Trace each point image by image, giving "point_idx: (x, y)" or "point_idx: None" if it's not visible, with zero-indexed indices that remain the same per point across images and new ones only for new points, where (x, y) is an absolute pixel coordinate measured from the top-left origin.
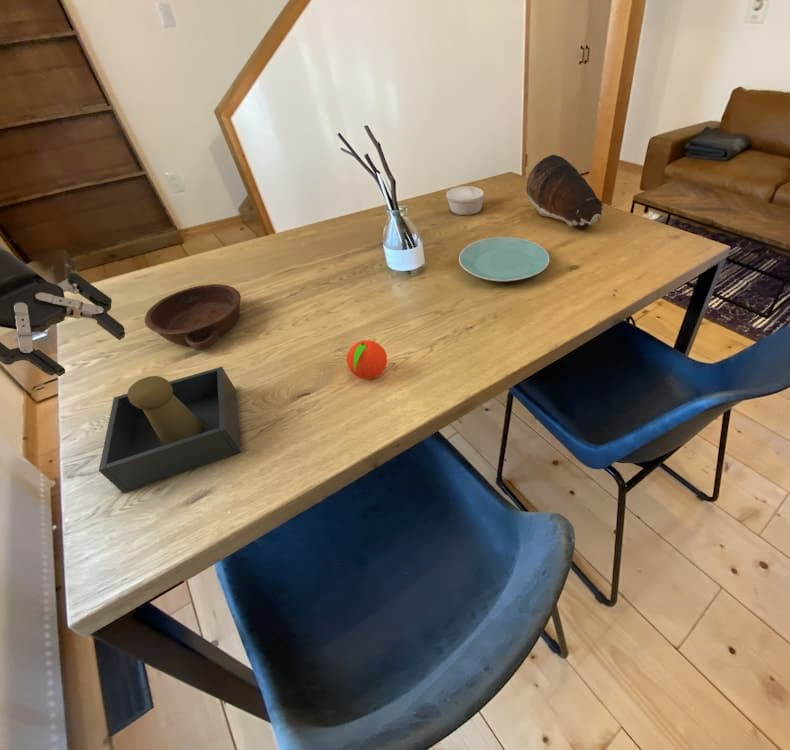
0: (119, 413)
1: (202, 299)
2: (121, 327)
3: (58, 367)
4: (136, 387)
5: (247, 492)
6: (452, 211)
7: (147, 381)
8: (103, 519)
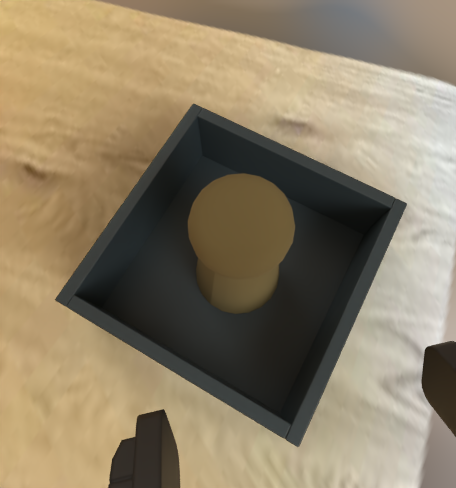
0: (311, 373)
1: None
2: (125, 453)
3: (449, 347)
4: (263, 215)
5: (242, 77)
6: None
7: (230, 212)
8: (415, 207)
